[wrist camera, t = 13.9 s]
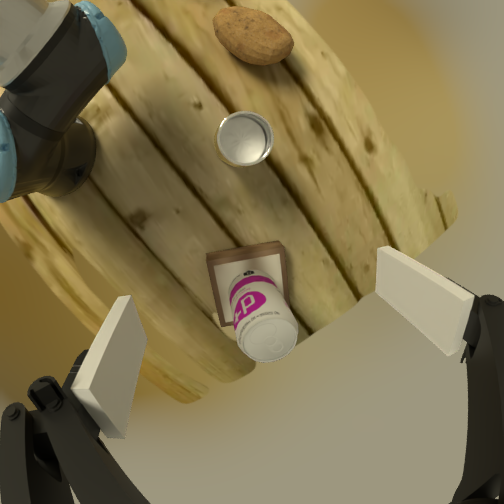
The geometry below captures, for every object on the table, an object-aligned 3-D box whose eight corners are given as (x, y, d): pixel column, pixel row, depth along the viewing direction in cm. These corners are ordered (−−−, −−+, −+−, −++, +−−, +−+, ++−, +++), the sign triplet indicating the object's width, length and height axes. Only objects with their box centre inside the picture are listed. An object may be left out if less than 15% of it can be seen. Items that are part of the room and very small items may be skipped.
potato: (231, 10, 35) (236, -12, 27) (295, 48, 39) (309, 31, 32) (198, 44, 37) (197, 24, 29) (265, 83, 41) (276, 69, 33)
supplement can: (218, 288, 46) (223, 341, 32) (256, 258, 46) (278, 301, 32) (247, 319, 49) (263, 375, 35) (284, 291, 48) (313, 340, 34)
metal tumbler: (251, 123, 43) (271, 106, 29) (257, 163, 45) (279, 163, 31) (209, 129, 42) (210, 113, 28) (216, 169, 44) (219, 172, 30)
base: (219, 316, 53) (221, 327, 49) (206, 253, 49) (206, 261, 45) (284, 303, 54) (290, 313, 50) (278, 240, 50) (284, 247, 46)
